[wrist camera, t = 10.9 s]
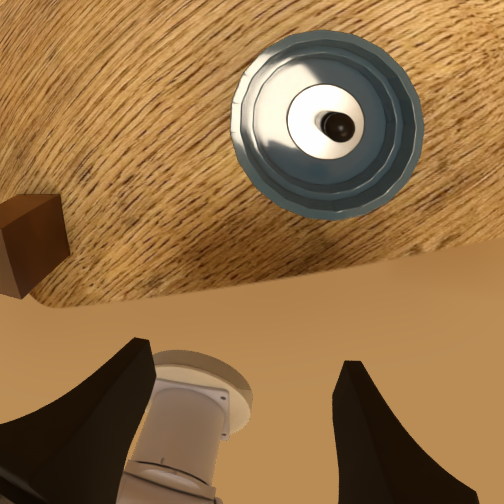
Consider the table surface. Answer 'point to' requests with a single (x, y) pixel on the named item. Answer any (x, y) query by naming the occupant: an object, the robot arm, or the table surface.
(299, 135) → the disc with handle
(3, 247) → the brown block
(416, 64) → the table surface
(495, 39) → the table surface
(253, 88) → the bowl
